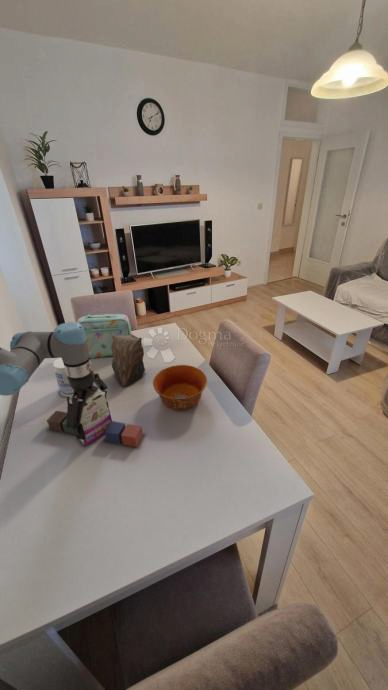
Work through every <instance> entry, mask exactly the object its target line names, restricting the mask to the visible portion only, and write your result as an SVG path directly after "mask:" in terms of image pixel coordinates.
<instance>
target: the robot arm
mask: <svg viewBox="0 0 388 690" xmlns="http://www.w3.org/2000/svg"><path fill="white" fill-rule="evenodd" d="M53 330H54V331H23V332H17V333H15V334H13V336H12V337H11V341H10V343H9V350H7V349H5V348H2V347H0V396H6V397H7V396H12V395H15V394H16V393H19V391H20V390H21V389H22V388H23V387H24V386H25V385H26V384H27V383H28V382H29V380H30V378H31V377H32V376H33V374H34V373H35V372H36V370H37V369H38V368H39V367H40V366H41V364H42V363H43V362H44V360H45V359H58V358H62V360H63V364H64V367H65V371H66V374H67V378H68V381H69V385H70V386H71V388H72V389H73V390H74V395H73V396H71V397H66V402H67V403H66V404H67V408H66V409H67V410H66V413H67V421H66V428H67V429H72V430H73V431H74V433H75V434H76V435H75V436H76V439H77V440H80V439H82V440H85V439H86V437H85V433H84V430H83V426H82V424H81V423H80V421H81V416H82V411H83V407H84V404H86V400H87V398H88V396H89V395H91V392H92V391H97V390H98V387H99V388H100V389H101V390H102V391H104V392H105V393H106V395H108V391H107V390H108V385H107V384H106V383H105V382H104V381H103V380H102V379H101V377H100V374H99V373H97V372H95V371H94V367H93V363H92V358H90V354H89V349H88V344H87V337H86V335H85V332H84V329H83V326H82V325H81V324H79V323H78V322H77V321H76V322H75V321H68V322H63V323H60V324H58V325H57V326H56V327H55V328H54V329H53ZM94 384H95V385H96V386H95V385H94ZM78 398H79V399H82V400H83V401H78Z"/></svg>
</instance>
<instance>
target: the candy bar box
mask: <svg viewBox="0 0 388 690" xmlns="http://www.w3.org/2000/svg"><path fill="white" fill-rule="evenodd" d="M97 388H98V390H97V391H92V392H91V395H89V396H88V398H87V400H86V404H84V407H83V411H82V416H81V421H80V423H81V424H82V426H83V430H84V433H85V437H86V439H85V440H82V439H79V441H80V442H81V443H82V444H83V445H84V446H87V445H89V444H90V443H92V442H93V441H95V440H96V439H98V438H100V437H101V436H103V435H105V430H106V429H107V427H108V426H109V424H110V423H111V421H113V419H112V415H111V411H110V406H109V402H108V397H107V394H106V393H105V392H104V391H102V390H101V389H100V388H99V387H98V386H97ZM78 401H83V400H82V399H79V398H78Z"/></svg>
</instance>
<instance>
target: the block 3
mask: <svg viewBox="0 0 388 690" xmlns="http://www.w3.org/2000/svg"><path fill="white" fill-rule="evenodd" d="M126 426H127V425H126V423H124V422H118V421H114V420H112V421H111V423H110V424H109V426H108V427H107V429H106V430H105V433H104V436H105V441H106V442H110V443H113V444H118V445H119V444H121V443H122V437H121V435H122V433H123V431H124V430H125V428H126Z"/></svg>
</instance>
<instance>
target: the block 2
mask: <svg viewBox="0 0 388 690" xmlns="http://www.w3.org/2000/svg"><path fill="white" fill-rule="evenodd" d="M66 421H67V418H66V419H65V421H64V422H63V423H62V425H63V428H64V431H63V432H64V433H65V434H68V435H74V436H76V434H75V433H74V431H73V430H72V429H67V428H66Z"/></svg>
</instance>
